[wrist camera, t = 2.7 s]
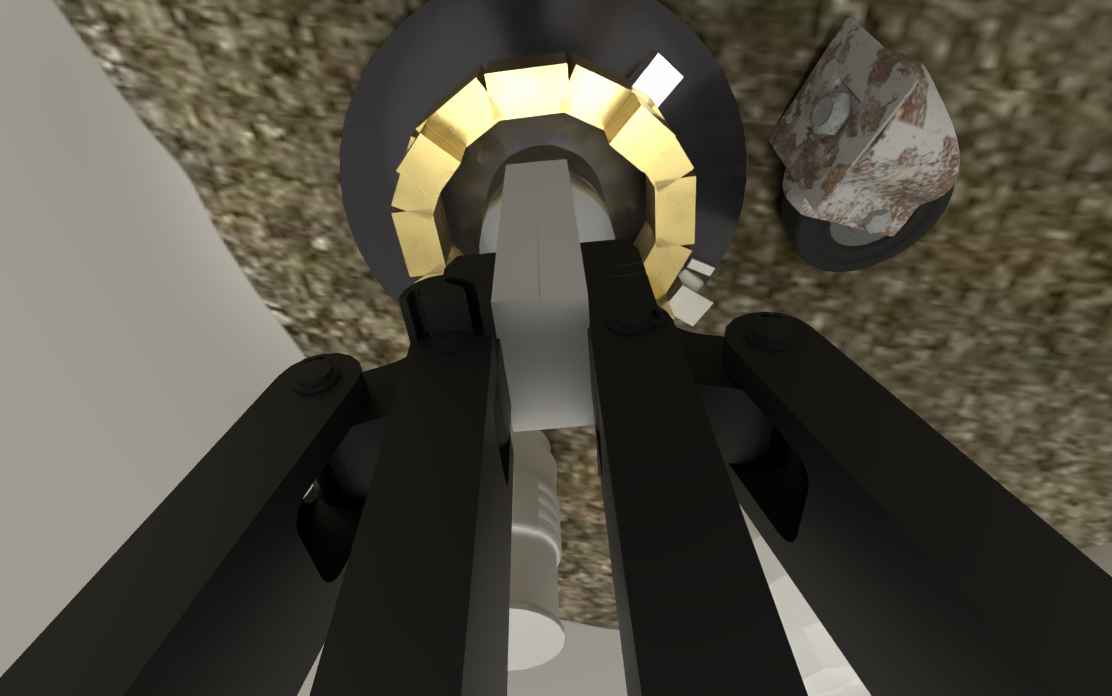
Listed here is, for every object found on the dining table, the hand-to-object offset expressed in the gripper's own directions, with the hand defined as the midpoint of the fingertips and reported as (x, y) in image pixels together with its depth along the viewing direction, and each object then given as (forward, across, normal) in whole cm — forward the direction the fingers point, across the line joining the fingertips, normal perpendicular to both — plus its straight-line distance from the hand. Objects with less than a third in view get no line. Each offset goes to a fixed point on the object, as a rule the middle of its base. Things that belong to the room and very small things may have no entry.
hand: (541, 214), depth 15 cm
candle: (+19, -5, -26) cm, 33 cm away
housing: (+18, 0, -6) cm, 19 cm away
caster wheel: (+19, +17, -6) cm, 26 cm away
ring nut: (+17, 0, -6) cm, 18 cm away
